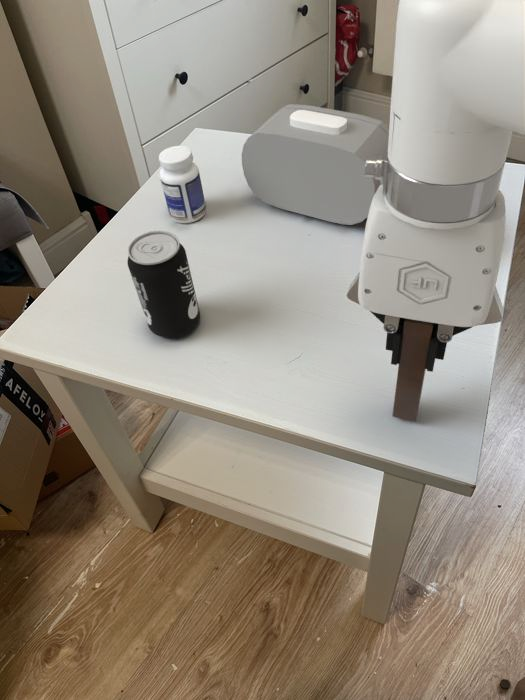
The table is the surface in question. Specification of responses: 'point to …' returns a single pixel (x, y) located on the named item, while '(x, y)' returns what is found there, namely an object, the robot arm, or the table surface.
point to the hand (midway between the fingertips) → (414, 355)
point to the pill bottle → (181, 184)
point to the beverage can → (163, 283)
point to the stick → (411, 368)
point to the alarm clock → (315, 162)
